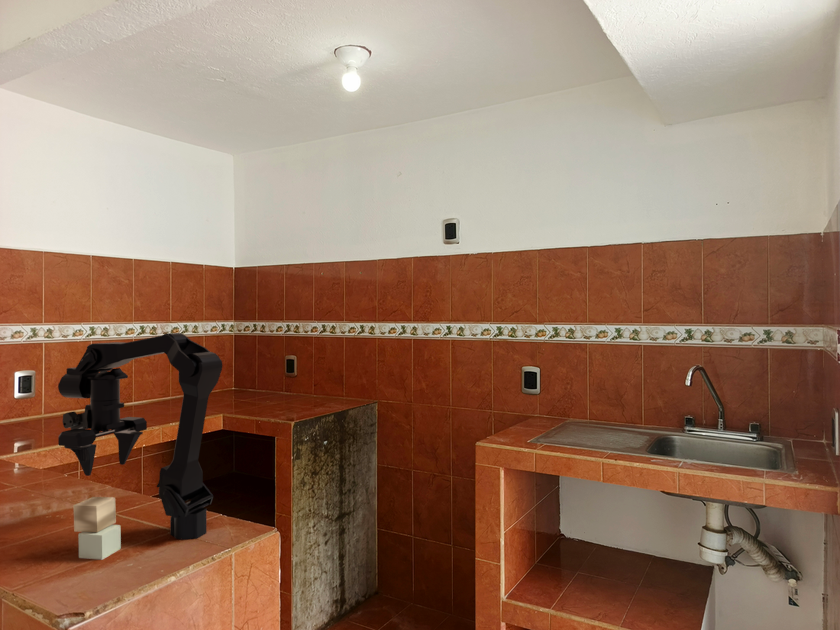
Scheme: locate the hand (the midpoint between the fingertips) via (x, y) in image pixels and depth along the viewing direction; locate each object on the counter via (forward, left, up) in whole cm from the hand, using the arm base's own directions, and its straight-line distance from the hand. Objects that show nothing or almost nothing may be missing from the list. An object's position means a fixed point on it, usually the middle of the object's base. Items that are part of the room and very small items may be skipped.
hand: (105, 469), depth 124 cm
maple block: (-10, +12, -7) cm, 17 cm away
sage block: (-12, +13, -12) cm, 21 cm away
